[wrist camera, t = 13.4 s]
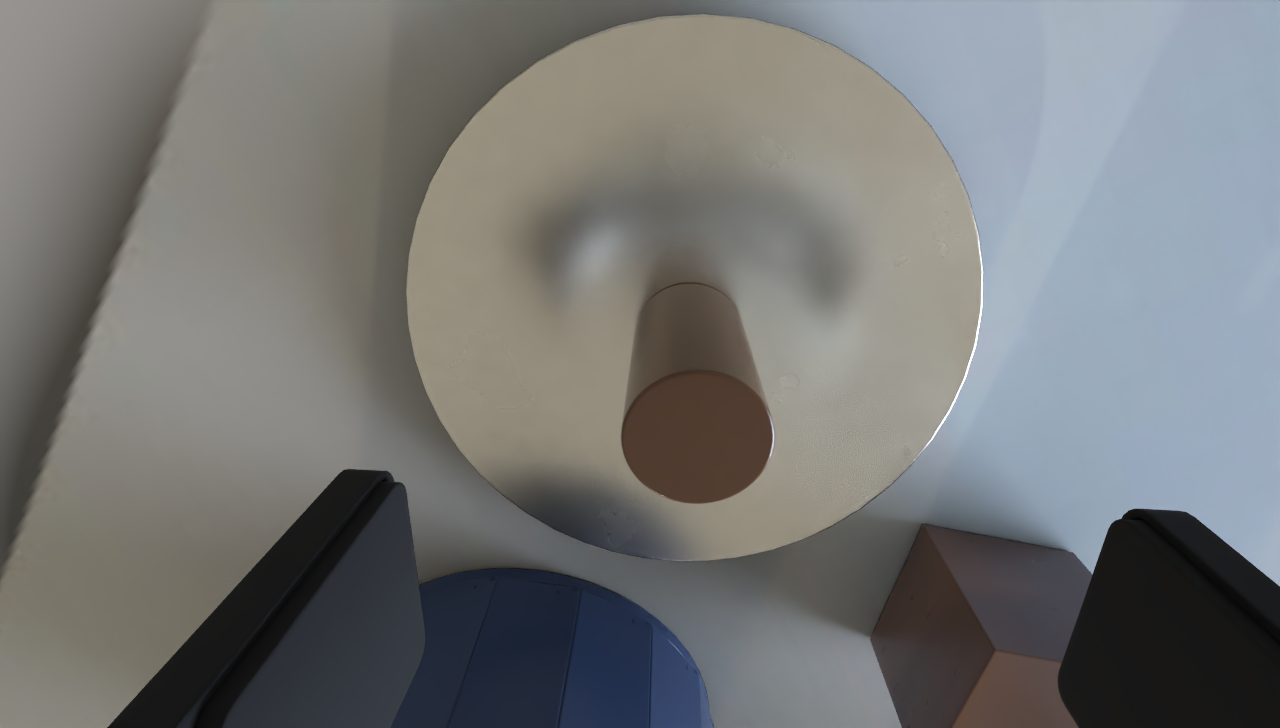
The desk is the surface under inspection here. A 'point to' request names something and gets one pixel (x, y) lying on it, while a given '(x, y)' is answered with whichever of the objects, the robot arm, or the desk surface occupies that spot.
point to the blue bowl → (546, 658)
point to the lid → (694, 287)
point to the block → (979, 632)
